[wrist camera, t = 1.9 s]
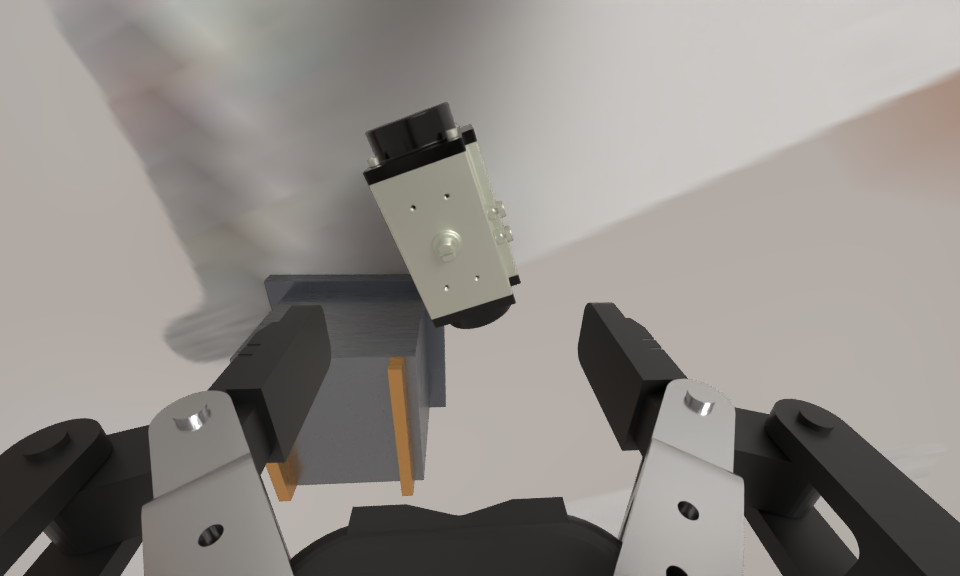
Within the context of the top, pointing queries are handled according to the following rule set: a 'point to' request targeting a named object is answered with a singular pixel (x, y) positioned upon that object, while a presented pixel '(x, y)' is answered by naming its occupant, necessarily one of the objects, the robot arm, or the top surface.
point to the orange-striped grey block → (363, 381)
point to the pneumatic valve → (443, 216)
